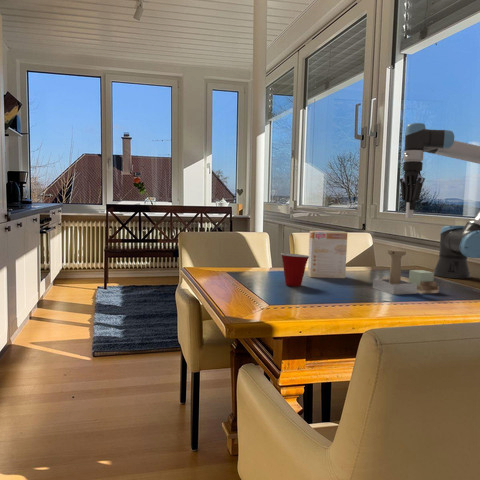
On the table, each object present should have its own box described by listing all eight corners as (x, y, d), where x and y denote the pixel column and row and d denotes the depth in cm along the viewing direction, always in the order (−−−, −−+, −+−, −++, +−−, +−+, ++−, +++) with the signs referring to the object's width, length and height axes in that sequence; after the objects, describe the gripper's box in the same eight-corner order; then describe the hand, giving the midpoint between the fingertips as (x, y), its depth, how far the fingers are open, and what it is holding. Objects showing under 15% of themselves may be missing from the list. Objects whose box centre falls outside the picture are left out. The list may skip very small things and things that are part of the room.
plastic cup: (312, 285, 170) (314, 253, 169) (300, 289, 161) (301, 256, 160) (287, 281, 176) (289, 251, 175) (274, 285, 167) (275, 253, 166)
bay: (399, 282, 185) (399, 272, 184) (438, 292, 164) (439, 282, 163) (382, 282, 182) (383, 272, 182) (420, 293, 161) (421, 282, 161)
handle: (398, 293, 161) (401, 251, 159) (382, 290, 165) (385, 249, 164) (405, 291, 164) (408, 250, 163) (389, 288, 169) (391, 249, 167)
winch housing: (394, 287, 172) (395, 278, 172) (416, 293, 161) (417, 284, 160) (372, 288, 169) (373, 278, 168) (393, 294, 157) (393, 284, 157)
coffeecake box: (341, 275, 195) (343, 231, 194) (345, 278, 188) (348, 232, 186) (307, 274, 195) (309, 230, 193) (310, 277, 188) (312, 231, 186)
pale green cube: (421, 285, 171) (422, 270, 170) (432, 288, 165) (434, 272, 165) (408, 286, 169) (409, 270, 168) (419, 289, 163) (420, 272, 163)
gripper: (395, 162, 192) (391, 217, 194) (416, 159, 180) (412, 218, 182) (409, 163, 195) (406, 217, 197) (431, 160, 182) (427, 218, 184)
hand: (409, 217), depth 189 cm, fingers closed
